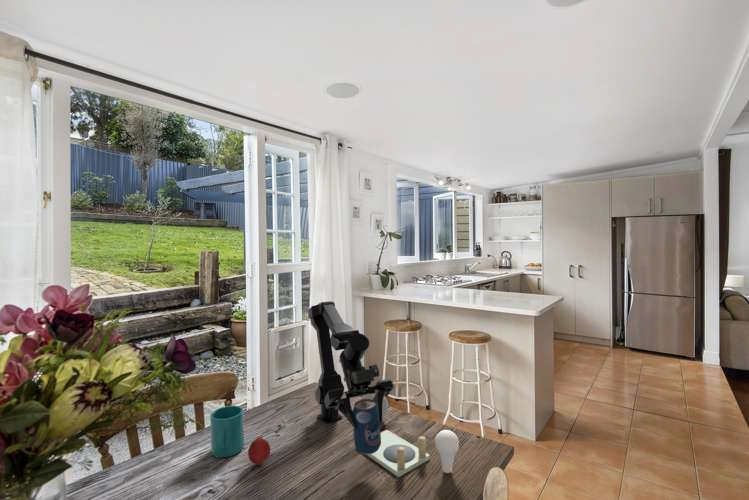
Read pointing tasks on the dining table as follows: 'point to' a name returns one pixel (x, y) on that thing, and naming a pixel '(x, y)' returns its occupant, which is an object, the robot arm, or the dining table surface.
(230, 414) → the cup
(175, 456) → the dining table surface
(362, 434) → the soda can
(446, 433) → the lightbulb
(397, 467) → the board
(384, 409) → the donut
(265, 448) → the onion
